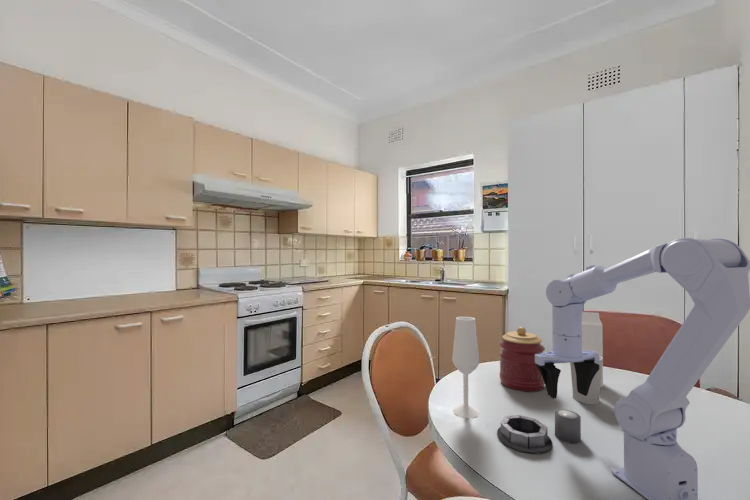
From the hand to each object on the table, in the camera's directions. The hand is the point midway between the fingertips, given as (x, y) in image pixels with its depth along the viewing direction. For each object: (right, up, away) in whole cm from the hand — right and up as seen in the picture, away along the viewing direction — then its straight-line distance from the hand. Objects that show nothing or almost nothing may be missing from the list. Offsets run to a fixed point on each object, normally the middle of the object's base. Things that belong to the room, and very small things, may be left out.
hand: (567, 395), depth 74 cm
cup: (+16, -10, +19) cm, 27 cm away
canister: (+3, -10, +30) cm, 32 cm away
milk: (+24, -10, +31) cm, 40 cm away
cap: (0, -9, 0) cm, 9 cm away
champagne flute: (-19, -10, +12) cm, 25 cm away
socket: (-10, -9, -1) cm, 14 cm away
